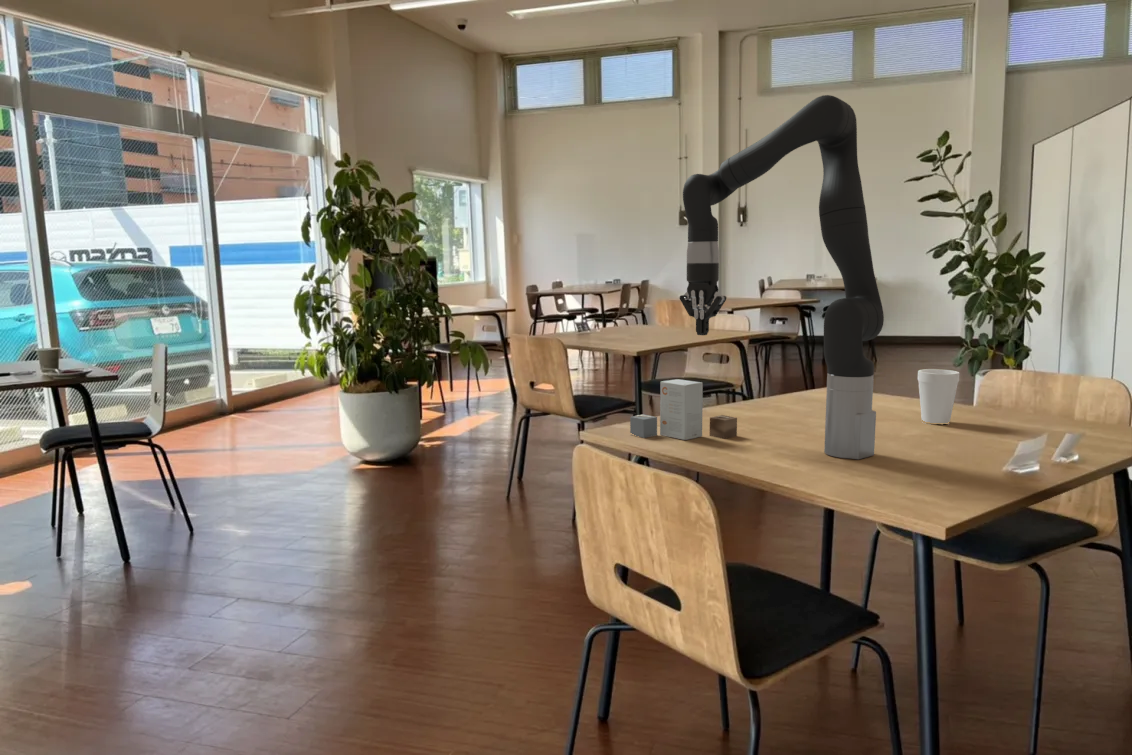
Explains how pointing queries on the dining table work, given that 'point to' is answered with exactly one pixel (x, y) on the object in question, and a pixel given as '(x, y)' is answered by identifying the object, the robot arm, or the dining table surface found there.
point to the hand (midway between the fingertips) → (702, 334)
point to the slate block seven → (643, 425)
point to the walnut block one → (723, 426)
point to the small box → (681, 409)
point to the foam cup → (937, 394)
